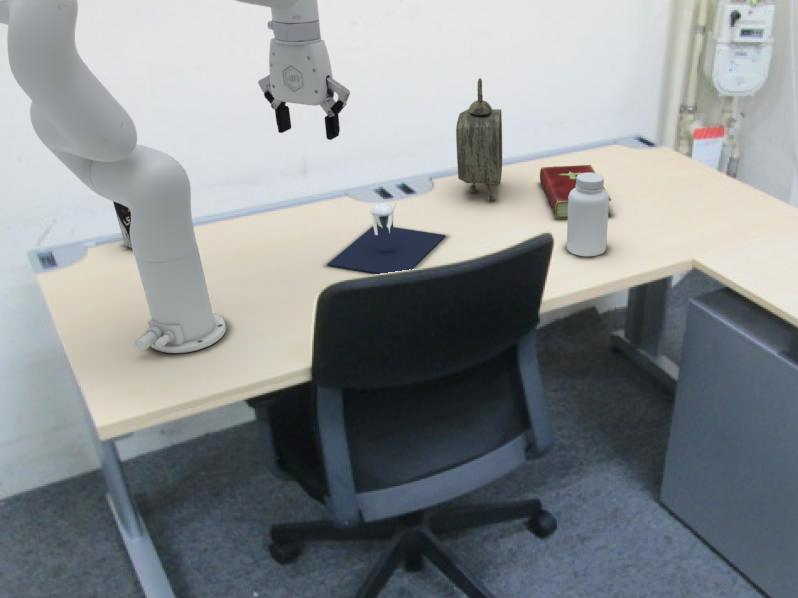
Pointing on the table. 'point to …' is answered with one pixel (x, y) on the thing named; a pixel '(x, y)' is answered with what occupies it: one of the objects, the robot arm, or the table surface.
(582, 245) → the pill bottle
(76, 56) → the robot arm
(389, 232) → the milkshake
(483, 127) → the tabletop clock
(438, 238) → the mouse pad
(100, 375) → the table surface
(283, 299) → the table surface
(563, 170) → the hardcover book
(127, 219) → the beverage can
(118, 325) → the table surface
